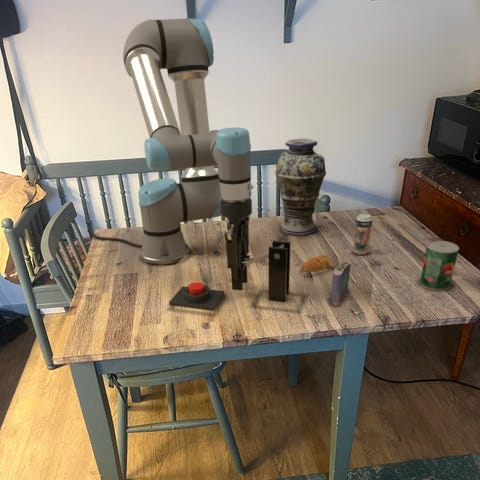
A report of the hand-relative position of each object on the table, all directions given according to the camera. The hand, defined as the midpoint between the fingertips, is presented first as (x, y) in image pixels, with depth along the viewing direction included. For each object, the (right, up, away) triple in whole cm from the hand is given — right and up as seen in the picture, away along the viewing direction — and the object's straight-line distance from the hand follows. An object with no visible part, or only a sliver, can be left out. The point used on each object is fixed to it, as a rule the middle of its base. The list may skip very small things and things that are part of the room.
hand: (239, 285), depth 123 cm
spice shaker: (+38, +12, +24) cm, 47 cm away
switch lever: (+5, +5, -5) cm, 9 cm away
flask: (+26, -3, -1) cm, 26 cm away
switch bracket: (+10, -4, -1) cm, 11 cm away
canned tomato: (+54, +1, +4) cm, 54 cm away
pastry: (+23, +6, +14) cm, 27 cm away
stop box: (-11, -5, -1) cm, 12 cm away
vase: (+21, +23, +42) cm, 52 cm away
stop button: (-11, -2, -3) cm, 12 cm away
